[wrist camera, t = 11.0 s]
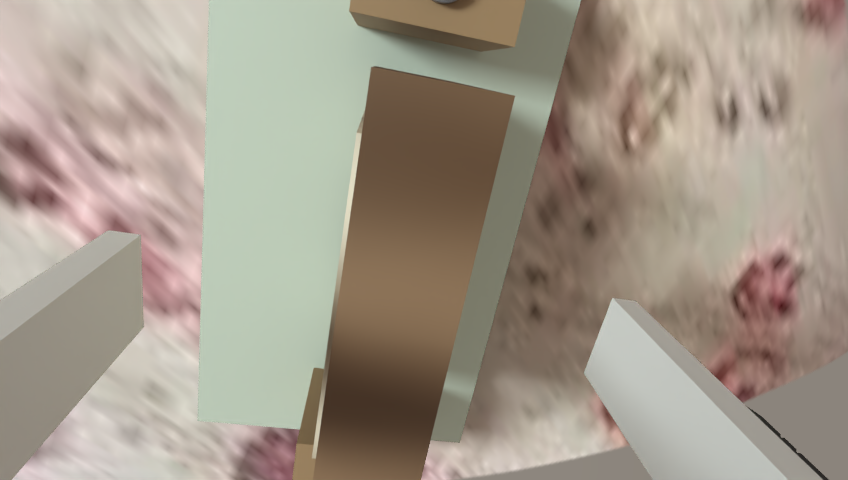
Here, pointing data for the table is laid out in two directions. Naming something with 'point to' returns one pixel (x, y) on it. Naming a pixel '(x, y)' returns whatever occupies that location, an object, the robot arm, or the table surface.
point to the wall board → (341, 181)
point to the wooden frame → (404, 269)
